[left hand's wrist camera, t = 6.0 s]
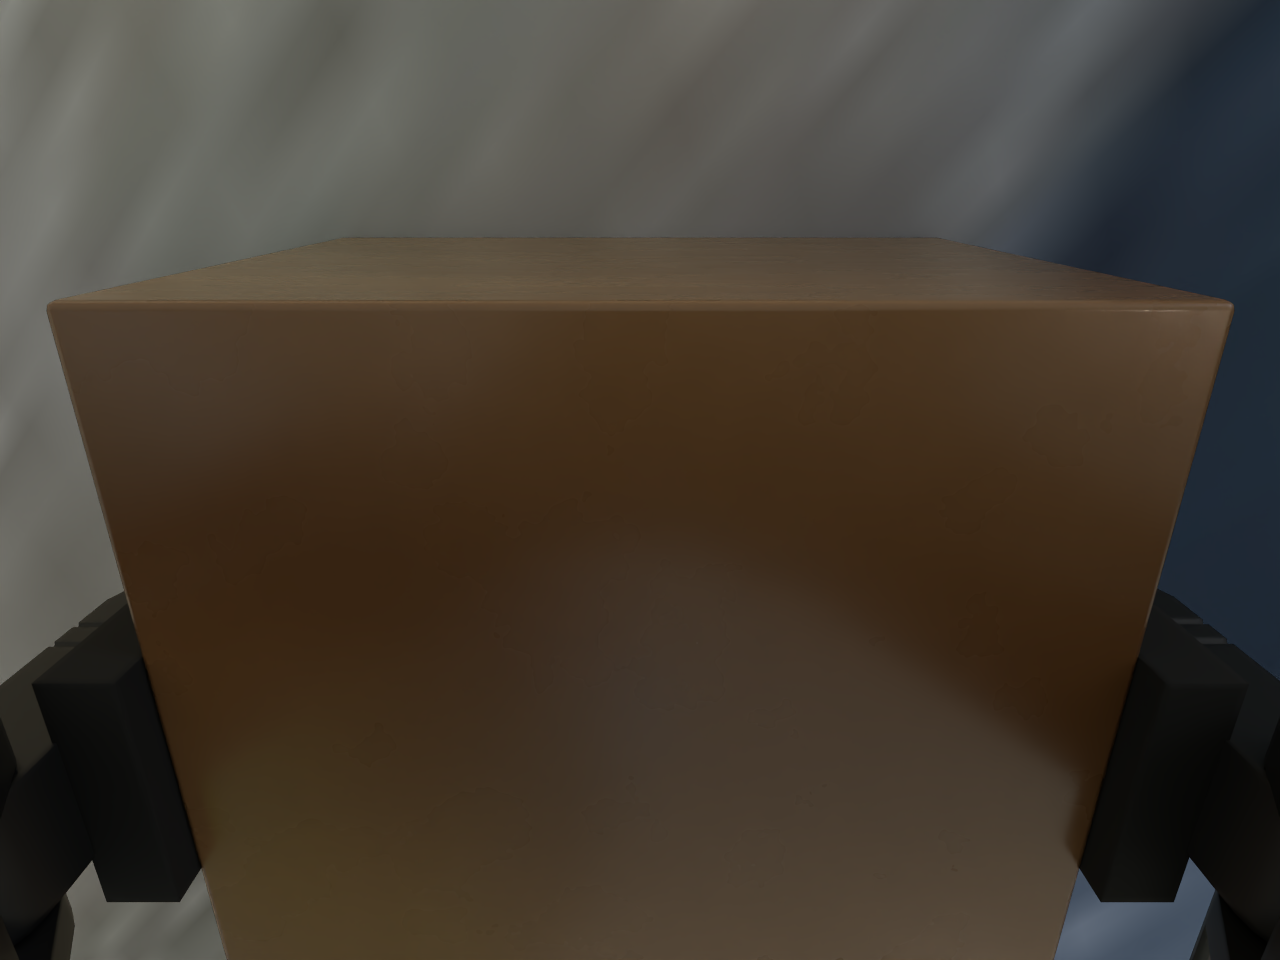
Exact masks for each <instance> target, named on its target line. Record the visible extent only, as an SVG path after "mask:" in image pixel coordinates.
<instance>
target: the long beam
mask: <svg viewBox="0 0 1280 960" xmlns="http://www.w3.org/2000/svg"><path fill="white" fill-rule="evenodd" d="M47 314H48V318H49V322H50V325H51V329H52V332H53V336H54V339H55V343H56V347H57V350H58V354H59V357H60V361H61V365H62V368H63V372H64V375H65V379H66V383H67V386H68V390H69V393H70V397H71V401H72V404H73V408H74V411H75V415H76V419H77V422H78V426H79V429H80V433H81V437H82V440H83V444H84V447H85V451H86V455H87V458H88V462H89V465H90V469H91V473H92V476H93V480H94V483H95V487H96V491H97V494H98V498H99V501H100V505H101V508H102V512H103V516H104V519H105V523H106V526H107V530H108V534H109V537H110V541H111V544H112V548H113V552H114V555H115V559H116V562H117V566H118V570H119V573H120V577H121V580H122V584H123V588H124V591H125V595H126V598H127V602H128V606H129V609H130V613H131V616H132V620H133V624H134V627H135V631H136V634H137V638H138V642H139V645H140V649H141V652H142V656H143V660H144V663H145V667H146V670H147V674H148V677H149V681H150V685H151V688H152V692H153V695H154V699H155V703H156V706H157V710H158V713H159V717H160V721H161V724H162V728H163V731H164V735H165V739H166V742H167V746H168V749H169V753H170V757H171V760H172V764H173V767H174V771H175V775H176V778H177V782H178V785H179V789H180V793H181V796H182V800H183V803H184V807H185V811H186V814H187V818H188V821H189V825H190V828H191V832H192V836H193V839H194V843H195V846H196V850H197V854H198V857H199V861H200V864H201V868H202V872H203V875H204V879H205V882H206V886H207V890H208V893H209V897H210V900H211V904H212V908H213V911H214V915H215V918H216V922H217V926H218V929H219V933H220V936H221V940H222V944H223V947H224V951H225V954H226V958H227V960H1054V957H1055V953H1056V950H1057V946H1058V943H1059V939H1060V935H1061V932H1062V928H1063V925H1064V921H1065V917H1066V914H1067V910H1068V907H1069V903H1070V899H1071V896H1072V892H1073V889H1074V885H1075V881H1076V878H1077V874H1078V871H1079V867H1080V864H1081V860H1082V856H1083V853H1084V849H1085V846H1086V842H1087V838H1088V835H1089V831H1090V828H1091V824H1092V820H1093V817H1094V813H1095V810H1096V806H1097V803H1098V799H1099V795H1100V792H1101V788H1102V785H1103V781H1104V777H1105V774H1106V770H1107V767H1108V763H1109V759H1110V756H1111V752H1112V749H1113V745H1114V741H1115V738H1116V734H1117V731H1118V727H1119V724H1120V720H1121V716H1122V713H1123V709H1124V706H1125V702H1126V698H1127V695H1128V691H1129V688H1130V684H1131V680H1132V677H1133V673H1134V670H1135V666H1136V663H1137V659H1138V655H1139V652H1140V648H1141V645H1142V641H1143V637H1144V634H1145V630H1146V627H1147V623H1148V619H1149V616H1150V612H1151V609H1152V605H1153V601H1154V598H1155V594H1156V591H1157V587H1158V584H1159V580H1160V576H1161V573H1162V569H1163V566H1164V562H1165V558H1166V555H1167V551H1168V548H1169V544H1170V540H1171V537H1172V533H1173V530H1174V526H1175V523H1176V519H1177V515H1178V512H1179V508H1180V505H1181V501H1182V497H1183V494H1184V490H1185V487H1186V483H1187V479H1188V476H1189V472H1190V469H1191V465H1192V461H1193V458H1194V454H1195V451H1196V447H1197V444H1198V440H1199V436H1200V433H1201V429H1202V426H1203V422H1204V418H1205V415H1206V411H1207V408H1208V404H1209V400H1210V397H1211V393H1212V390H1213V386H1214V383H1215V379H1216V375H1217V372H1218V368H1219V365H1220V361H1221V357H1222V354H1223V350H1224V347H1225V343H1226V339H1227V336H1228V332H1229V329H1230V325H1231V321H1232V318H1233V314H1234V305H1233V304H1232V303H1231V302H1229V301H1227V300H1224V299H1219V298H1215V297H1210V296H1205V295H1201V294H1196V293H1191V292H1187V291H1182V290H1177V289H1173V288H1168V287H1163V286H1159V285H1154V284H1149V283H1145V282H1140V281H1135V280H1131V279H1126V278H1121V277H1117V276H1112V275H1108V274H1103V273H1098V272H1094V271H1089V270H1084V269H1080V268H1075V267H1070V266H1066V265H1061V264H1056V263H1052V262H1047V261H1042V260H1038V259H1033V258H1028V257H1024V256H1019V255H1014V254H1010V253H1005V252H1001V251H996V250H991V249H987V248H982V247H977V246H973V245H968V244H963V243H959V242H954V241H949V240H945V239H940V238H340V239H336V240H331V241H326V242H322V243H317V244H312V245H308V246H303V247H299V248H294V249H289V250H285V251H280V252H275V253H271V254H266V255H262V256H257V257H252V258H248V259H243V260H238V261H234V262H229V263H225V264H220V265H215V266H211V267H206V268H201V269H197V270H192V271H187V272H183V273H178V274H174V275H169V276H164V277H160V278H155V279H150V280H146V281H141V282H137V283H132V284H127V285H123V286H118V287H113V288H109V289H104V290H100V291H95V292H90V293H86V294H81V295H76V296H72V297H67V298H63V299H58V300H55V301H53V302H50V303H49V304H48V305H47Z"/></svg>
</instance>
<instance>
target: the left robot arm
mask: <svg viewBox="0 0 1280 960" xmlns="http://www.w3.org/2000/svg"><path fill="white" fill-rule="evenodd" d="M1189 857H1190V858H1191V860H1192V861H1193V862H1194V863H1195V865H1196V866H1197V867H1198V868H1199V869H1200V871H1201V872H1202V873H1203V874H1204V876H1205V877H1206V878H1207V879H1208V881H1209V882H1210V883H1211V884H1212V886H1213V887H1214V888H1215V889H1216V890H1215V892H1214V895H1213V898H1212V900H1211V903H1210V906H1209V908H1208V911H1207V914H1206V917H1205V919H1204V922H1203V925H1202V927H1201V930H1200V933H1199V935H1198V938H1197V941H1196V944H1195V946H1194V949H1193V952H1192V954H1191V957H1190V960H1280V681H1279V680H1278V679H1277V678H1275V677H1274V676H1273V675H1272V674H1270V673H1269V672H1268V671H1267V670H1265V669H1264V668H1263V667H1262V666H1260V665H1259V664H1258V663H1256V662H1255V661H1254V660H1253V659H1251V658H1250V657H1249V656H1248V655H1246V654H1245V653H1244V652H1243V651H1241V650H1240V649H1239V648H1238V647H1236V646H1235V645H1234V644H1227V639H1226V638H1225V637H1224V636H1222V635H1221V634H1220V633H1219V632H1217V631H1216V630H1215V629H1214V628H1212V627H1211V626H1210V625H1209V624H1203V620H1202V619H1201V618H1200V617H1199V616H1197V615H1196V614H1195V613H1194V612H1192V611H1191V610H1190V609H1188V608H1187V607H1186V606H1185V605H1183V604H1182V603H1181V602H1180V601H1178V600H1177V599H1176V598H1175V597H1173V596H1171V595H1169V594H1167V593H1165V592H1163V591H1161V590H1159V589H1157V591H1156V594H1155V598H1154V601H1153V605H1152V609H1151V612H1150V616H1149V619H1148V623H1147V627H1146V630H1145V634H1144V637H1143V641H1142V645H1141V648H1140V652H1139V655H1138V659H1137V663H1136V666H1135V670H1134V673H1133V677H1132V680H1131V684H1130V688H1129V691H1128V695H1127V698H1126V702H1125V706H1124V709H1123V713H1122V716H1121V720H1120V724H1119V727H1118V731H1117V734H1116V738H1115V741H1114V745H1113V749H1112V752H1111V756H1110V759H1109V763H1108V767H1107V770H1106V774H1105V777H1104V781H1103V785H1102V788H1101V792H1100V795H1099V799H1098V803H1097V806H1096V810H1095V813H1094V817H1093V820H1092V824H1091V828H1090V831H1089V835H1088V838H1087V842H1086V846H1085V849H1084V853H1083V856H1082V860H1081V864H1080V867H1079V868H1080V870H1081V871H1082V873H1083V875H1084V876H1085V878H1086V879H1087V881H1088V883H1089V884H1090V886H1091V887H1092V889H1093V890H1094V892H1095V894H1096V895H1097V897H1098V898H1099V900H1100V902H1174V900H1175V897H1176V894H1177V891H1178V888H1179V885H1180V883H1181V880H1182V877H1183V874H1184V871H1185V868H1186V865H1187V862H1188V860H1189ZM92 860H93V863H94V866H95V869H96V872H97V875H98V878H99V881H100V884H101V886H102V889H103V892H104V895H105V898H106V901H107V902H180V901H181V899H182V898H183V896H184V894H185V893H186V891H187V890H188V888H189V886H190V885H191V883H192V882H193V880H194V879H195V877H196V875H197V874H198V872H199V871H200V869H201V864H200V861H199V857H198V854H197V850H196V846H195V843H194V839H193V836H192V832H191V828H190V825H189V821H188V818H187V814H186V811H185V807H184V803H183V800H182V796H181V793H180V789H179V785H178V782H177V778H176V775H175V771H174V767H173V764H172V760H171V757H170V753H169V749H168V746H167V742H166V739H165V735H164V731H163V728H162V724H161V721H160V717H159V713H158V710H157V706H156V703H155V699H154V695H153V692H152V688H151V685H150V681H149V677H148V674H147V670H146V667H145V663H144V660H143V656H142V652H141V649H140V645H139V642H138V638H137V634H136V631H135V627H134V624H133V620H132V616H131V613H130V609H129V606H128V602H127V598H126V595H125V591H124V592H122V593H120V594H118V595H116V596H114V597H112V598H110V599H108V600H106V601H105V602H104V603H103V604H101V605H100V606H99V607H98V608H96V609H95V610H94V611H93V612H91V613H90V614H89V615H88V616H86V617H85V618H84V619H83V620H81V621H80V622H79V627H73V628H71V629H70V630H69V631H68V632H66V633H65V634H64V635H63V636H61V637H60V638H59V639H58V640H56V641H55V646H54V647H48V648H46V649H45V650H44V651H43V652H42V653H40V654H39V655H38V656H37V657H35V658H34V659H33V660H32V661H30V662H29V663H28V664H27V665H25V666H24V667H23V668H22V669H20V670H19V671H18V672H17V673H15V674H14V675H13V676H12V677H10V678H9V679H8V680H7V681H5V682H4V683H3V684H2V685H0V960H70V954H71V948H72V941H73V934H74V927H75V925H74V919H73V913H72V908H71V906H70V903H69V900H68V898H67V895H66V892H67V891H68V890H69V888H70V887H71V886H72V885H73V883H74V882H75V881H76V880H77V878H78V877H79V876H80V875H81V873H82V872H83V871H84V870H85V868H86V867H87V866H88V865H89V863H90V862H91V861H92Z"/></svg>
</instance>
